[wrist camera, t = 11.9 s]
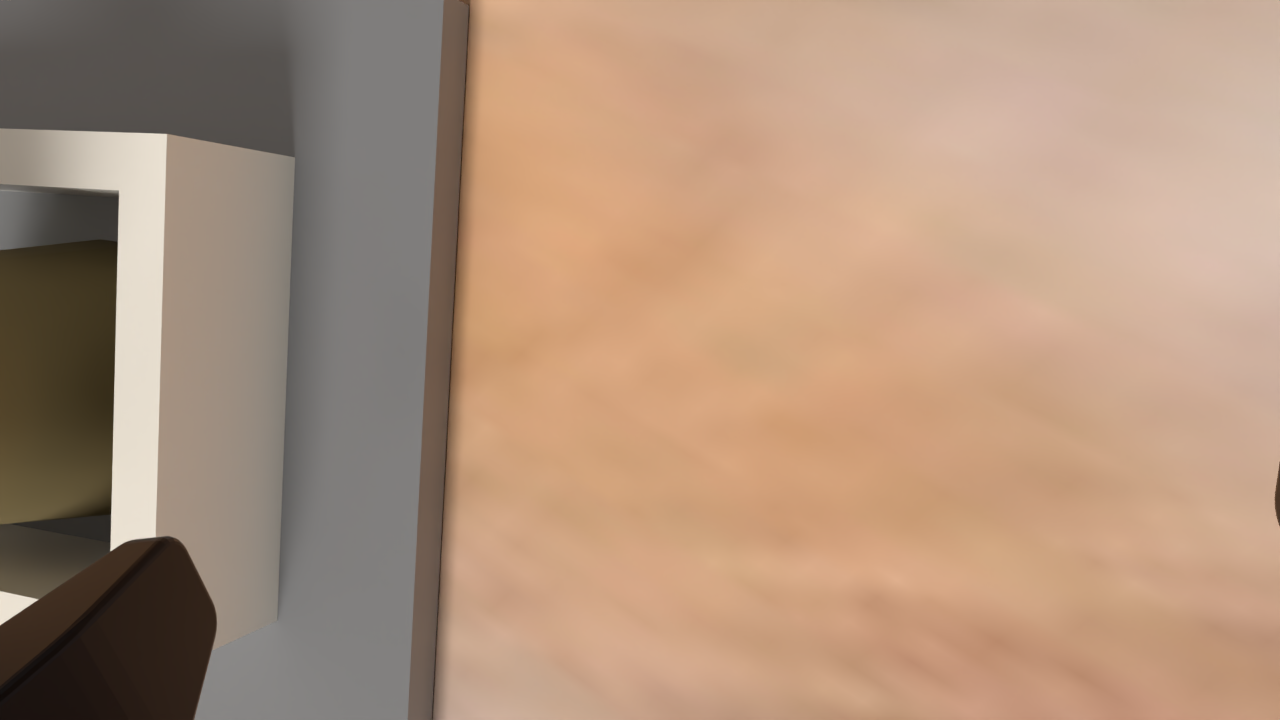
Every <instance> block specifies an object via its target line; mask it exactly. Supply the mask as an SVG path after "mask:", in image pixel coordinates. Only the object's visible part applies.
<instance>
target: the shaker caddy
mask: <svg viewBox="0 0 1280 720" xmlns="http://www.w3.org/2000/svg"><path fill="white" fill-rule="evenodd" d="M468 16H469V5H467V4H465V3H463V2H462V1H460V0H0V250H6V249H16V248H25V247H34V246H43V245H52V244H62V243H71V242H80V241H89V240H98V239H102V240H109V241H115V242H118V256H117V298H116V339H115V381H114V423H113V464H112V506H111V515H101V516H89V517H78V518H67V519H56V520H45V521H33V522H22V523H11V524H0V625H1V624H3V623H4V622H6V621H7V620H9V619H10V618H12V617H13V616H15V615H16V614H18V613H19V612H21V611H22V610H24V609H25V608H27V607H28V606H30V605H31V604H33V603H34V602H36V601H37V600H39V599H40V598H42V597H43V596H45V595H46V594H48V593H49V592H51V591H52V590H54V589H55V588H57V587H58V586H60V585H61V584H63V583H64V582H66V581H67V580H68V579H70V578H71V577H73V576H74V575H76V574H77V573H79V572H80V571H82V570H83V569H85V568H86V567H88V566H89V565H91V564H92V563H94V562H95V561H97V560H98V559H100V558H101V557H103V556H104V555H106V554H107V553H109V552H110V551H112V550H113V549H115V548H116V547H118V546H119V545H121V544H123V543H124V542H127V541H130V540H135V539H143V538H152V537H161V536H171V537H174V538H177V539H178V540H179V541H181V542H182V543H183V544H184V546H185V547H186V549H187V551H188V553H189V555H190V557H191V559H192V561H193V563H194V565H195V567H196V569H197V571H198V573H199V575H200V577H201V579H202V581H203V583H204V585H205V587H206V589H207V591H208V593H209V595H210V597H211V599H212V601H213V603H214V606H215V610H216V614H217V631H216V637H215V641H214V645H213V649H212V652H211V656H210V660H209V664H208V668H207V672H206V676H205V680H204V684H203V687H202V691H201V695H200V699H199V703H198V707H197V711H196V715H195V719H194V720H432V705H433V686H434V667H435V648H436V629H437V609H438V590H439V571H440V552H441V533H442V514H443V495H444V475H445V456H446V437H447V418H448V399H449V380H450V361H451V341H452V322H453V303H454V284H455V265H456V246H457V227H458V208H459V188H460V169H461V150H462V131H463V112H464V93H465V74H466V54H467V35H468Z"/></svg>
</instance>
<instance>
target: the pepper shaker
mask: <svg viewBox="0 0 1280 720" xmlns="http://www.w3.org/2000/svg"><path fill="white" fill-rule="evenodd" d="M117 256H118V242H115V241H109V240H102V239H98V240H89V241H80V242H71V243H62V244H52V245H43V246H34V247H25V248H16V249H6V250H0V524H11V523H22V522H33V521H45V520H56V519H67V518H78V517H89V516H101V515H111V506H112V464H113V423H114V381H115V339H116V298H117Z"/></svg>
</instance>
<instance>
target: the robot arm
mask: <svg viewBox="0 0 1280 720" xmlns="http://www.w3.org/2000/svg"><path fill="white" fill-rule="evenodd" d="M1275 509H1276V515H1277V519H1278V523H1279V526H1280V464H1279V471H1278V478H1277V484H1276V491H1275ZM216 631H217V614H216V610H215V606H214V603H213V601H212V599H211V597H210V595H209V593H208V591H207V589H206V587H205V585H204V583H203V581H202V579H201V577H200V575H199V573H198V571H197V569H196V567H195V565H194V563H193V561H192V559H191V557H190V555H189V553H188V551H187V549H186V547H185V546H184V544H183V543H182V542H181V541H179V540H178V539H177V538H174V537H171V536H161V537H152V538H143V539H135V540H130V541H127V542H124V543H123V544H121V545H119V546H118V547H116V548H115V549H113V550H112V551H110V552H109V553H107V554H106V555H104V556H103V557H101V558H100V559H98V560H97V561H95V562H94V563H92V564H91V565H89V566H88V567H86V568H85V569H83V570H82V571H80V572H79V573H77V574H76V575H74V576H73V577H71V578H70V579H68V580H67V581H66V582H64V583H63V584H61V585H60V586H58V587H57V588H55V589H54V590H52V591H51V592H49V593H48V594H46V595H45V596H43V597H42V598H40V599H39V600H37V601H36V602H34V603H33V604H31V605H30V606H28V607H27V608H25V609H24V610H22V611H21V612H19V613H18V614H16V615H15V616H13V617H12V618H10V619H9V620H7V621H6V622H4V623H3V624H1V625H0V720H194V719H195V715H196V711H197V707H198V703H199V699H200V695H201V691H202V687H203V684H204V680H205V676H206V672H207V668H208V664H209V660H210V656H211V652H212V649H213V645H214V641H215V637H216Z"/></svg>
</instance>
